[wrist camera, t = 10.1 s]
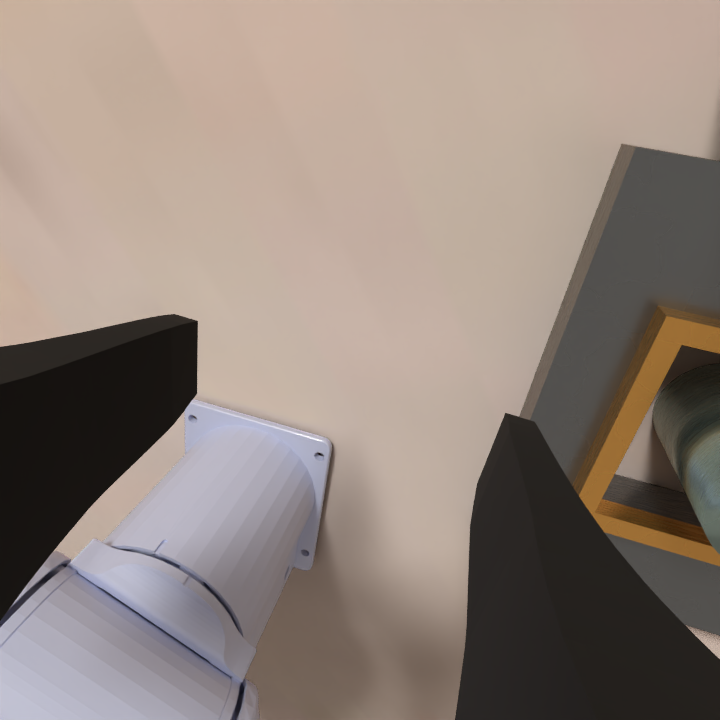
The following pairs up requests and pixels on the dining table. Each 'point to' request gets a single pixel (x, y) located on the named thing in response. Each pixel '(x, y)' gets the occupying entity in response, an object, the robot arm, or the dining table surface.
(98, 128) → the dining table surface
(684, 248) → the grey square hole board
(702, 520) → the spout can
